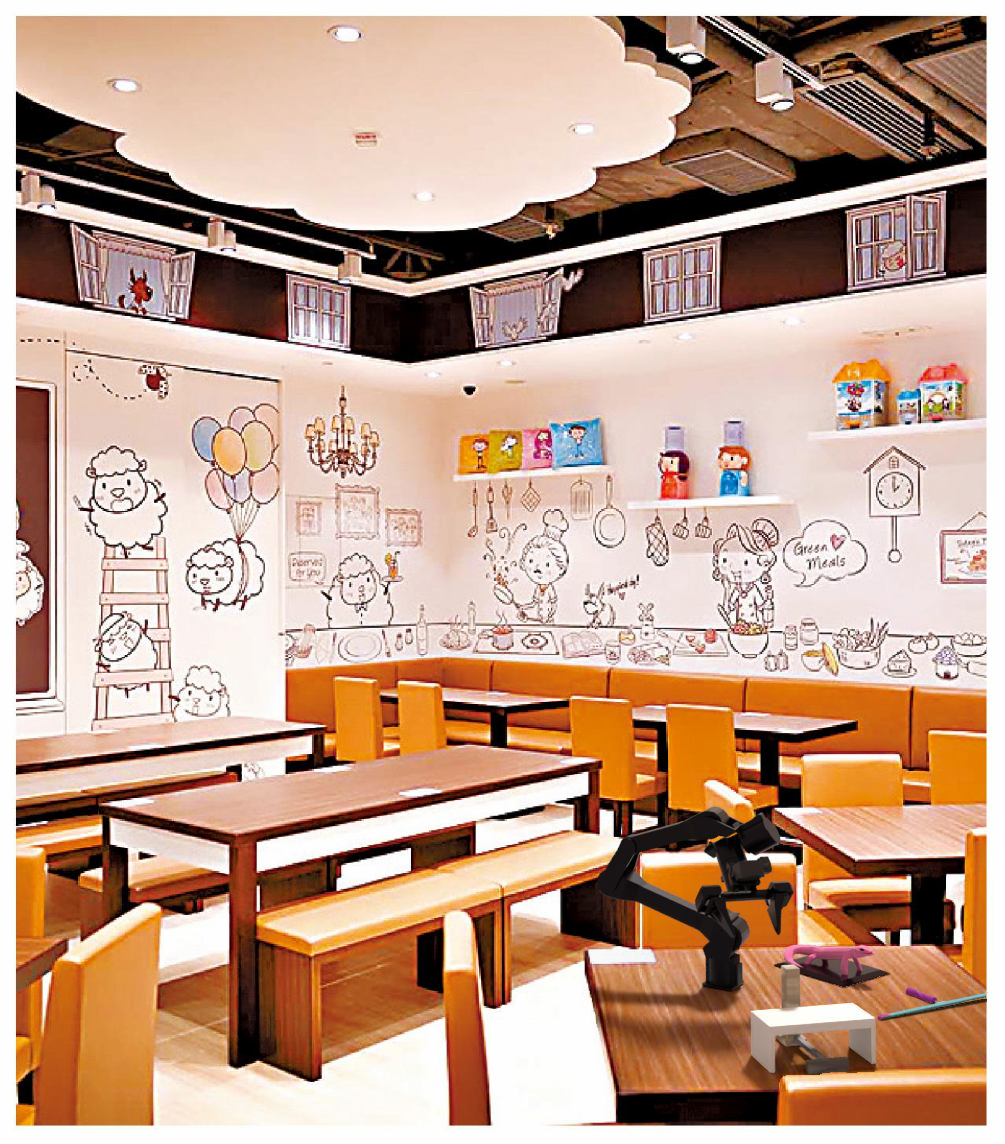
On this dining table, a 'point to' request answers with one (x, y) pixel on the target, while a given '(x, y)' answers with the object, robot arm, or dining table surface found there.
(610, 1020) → the dining table surface
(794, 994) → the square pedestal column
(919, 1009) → the squeegee
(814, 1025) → the white footstool bench
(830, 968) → the lizard figurine
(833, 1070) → the steel token
